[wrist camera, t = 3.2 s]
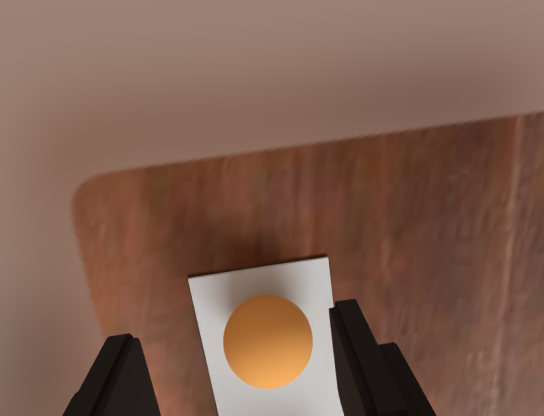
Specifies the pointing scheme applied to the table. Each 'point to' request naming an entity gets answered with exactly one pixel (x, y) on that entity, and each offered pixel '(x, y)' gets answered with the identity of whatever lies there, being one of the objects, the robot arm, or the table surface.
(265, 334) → the ball
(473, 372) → the table surface
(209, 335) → the plate
